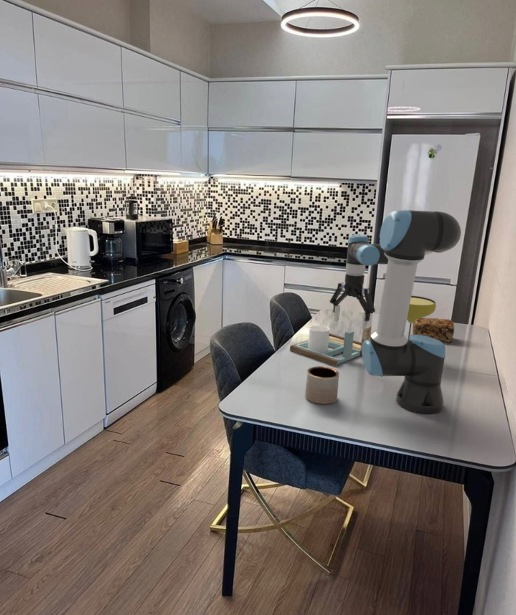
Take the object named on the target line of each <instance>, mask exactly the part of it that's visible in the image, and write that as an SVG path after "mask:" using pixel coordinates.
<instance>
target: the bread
mask: <svg viewBox="0 0 516 615" xmlns="http://www.w3.org/2000/svg"><path fill="white" fill-rule="evenodd" d="M454 324H455V323H454V321H453V320H451V319H448V318H447V319H446V318H433V317H422V318H419V319H417V320H416V321H415V322H413V323H412V335H423V336H427V337H431V338H434V339H437V340H439V341H440V342H442V343H452V342H453V339H454V334H455V325H454Z"/></svg>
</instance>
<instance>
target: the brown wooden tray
mask: <svg viewBox="0 0 516 615" xmlns="http://www.w3.org/2000/svg"><path fill="white" fill-rule="evenodd" d="M329 336H331V337H334V338H338V339H341V340H344V337H345V336H340V335H338V334H337V335H336V334H333V333H330V332H329ZM307 341H309V339H307V340H304V341H301V342H298V343H294V344H291V345H290V346H289V351H290V352H293V353H296V354H298V355H302V356H305V357H308V358H311V359H312V360H313V359H314V360H316V361H319V362H321V363H325V364H327V365H330V366H333V367H337V366H338V365H337V360H334V359H331V358H328V357H325V356H323V355H320V354H317V353H314V352H311V351H308V350H305V349H302V348H299V347H296V346H295V345H298V344H301V343H304V342H307ZM329 341H330V340H329ZM331 342H334V341H331ZM334 343H337V342H334ZM353 343H355V344H358V345H361V342H360V341H357V340H354V339H353ZM337 344H340V343H337ZM341 345H344V344H341ZM352 348H353V347H352ZM354 349H357V348H354ZM357 350H360V349H357ZM359 356H360V357H361V356H362V350H360V355H359Z"/></svg>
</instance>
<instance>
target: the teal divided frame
mask: <svg viewBox="0 0 516 615" xmlns="http://www.w3.org/2000/svg"><path fill="white" fill-rule="evenodd" d="M354 333H355V331H353V330H348V331H345V332H344V336H343V337H344V345H341V344H337V343H334V342H331V341H329V342H328V348H329V347H330V348H333V349H330V350H328V352H325V353H319V352H316V351H313V350H310V349H308V342H309V341H307V340H306V341H307V342H304V341H303V342H304V343H301V344H298V345H295V346H296V347H299V348H302V349H305V350H308V351H311V352H314V353H317V354H320V355H323V356H325V357H328V358H331V359H334V360H337V366H338V365H339V364H343V363H344V362H347V361H349V360H352V359H354V358H357V357H359V356H360V350H357V349H354V348H352V347H353V340H354V336H355V334H354ZM340 353H342V357H340V358H337V357H333V356H335V355H339V354H340Z"/></svg>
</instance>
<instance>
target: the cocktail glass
mask: <svg viewBox="0 0 516 615" xmlns="http://www.w3.org/2000/svg"><path fill="white" fill-rule="evenodd" d="M436 308H437V303H436V300H433V299H432V298H427V297H424V296H418V295H417V296H416V295H411V300H410V305H409V311H408V316H407V322H408V323H409V329H408V336H407V339H408V341H409V338H410V336H411V329H412V325H413V322H415V321H416V320H417V319H419V318H426V317H428V316H430V315H432V314H433V313H434V312H435V311H436Z"/></svg>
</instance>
